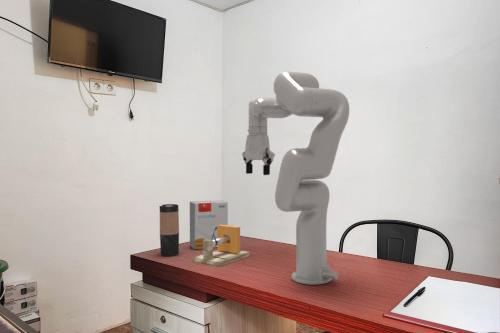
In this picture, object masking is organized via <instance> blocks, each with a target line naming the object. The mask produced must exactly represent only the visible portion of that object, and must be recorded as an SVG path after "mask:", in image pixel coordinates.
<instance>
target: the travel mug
mask: <svg viewBox="0 0 500 333" xmlns="http://www.w3.org/2000/svg"><path fill="white" fill-rule="evenodd" d="M179 212H180V211H179V204H176V203H167V204H162V205H159V240H160V241H159V242H160V244H159V245H160V256H162V257H175V256H178V255H179V252H180V249H179V248H180V218H179V217H180V216H179V214H180V213H179Z"/></svg>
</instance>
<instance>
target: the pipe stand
mask: <svg viewBox="0 0 500 333" xmlns="http://www.w3.org/2000/svg"><path fill="white" fill-rule="evenodd" d="M250 256H251V255H250V251H244V250H240V253H231V252H226V251H220V250H218V249H217V250H214V248H213V240H207V239H206V240H203V249H202V254H200V255H196V256H193V262H196V263H202V264H205V265H206V264H207V265H211V266H215V267H222V266H225V265H226V266H227V265H228V264H231V263H234V262H237V261H239V260H240V261H241V260H242V259H245V258H248V257H250Z"/></svg>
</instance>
